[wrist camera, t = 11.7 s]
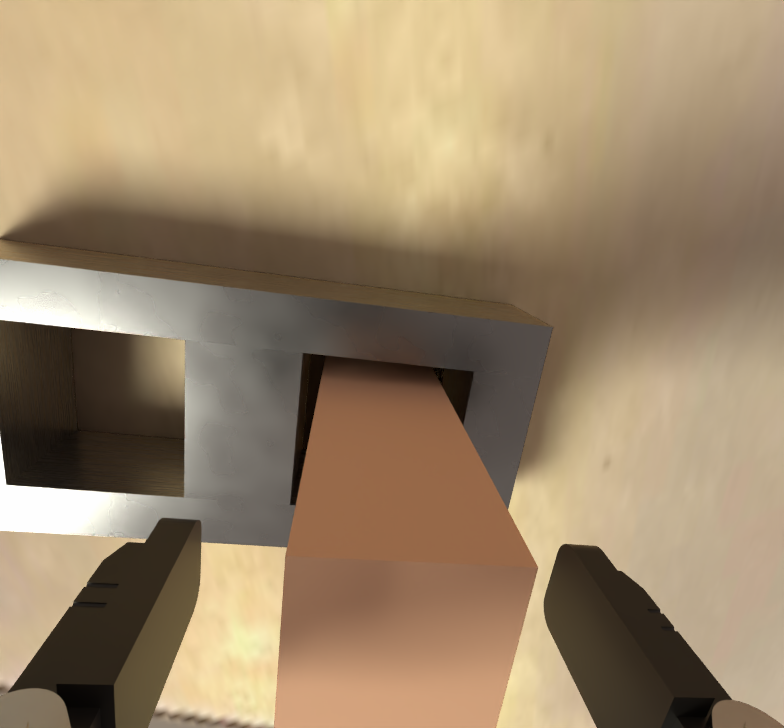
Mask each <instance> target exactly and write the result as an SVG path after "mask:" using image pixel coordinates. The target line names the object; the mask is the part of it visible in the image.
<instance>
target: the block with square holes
mask: <svg viewBox="0 0 784 728" xmlns="http://www.w3.org/2000/svg"><path fill="white" fill-rule="evenodd" d="M70 327H71V328H80V329H89V330H99V331H108V332H117V333H126V334H135V335H144V336H154V337H163V338H172V339H181V340H185V439H174V438H162V437H150V436H138V435H126V434H114V433H103V432H91V431H79V430H77V415H76V401H75V386H74V371H73V357H72V342H71V328H70ZM552 329H553V327H552V326H550V325H548V324H546V323H544V322H543V321H541V320H539V319H537V318H535V317H533V316H532V315H530V314H528V313H526V312H524V311H522V310H520V309H519V308H517V307H515V306H513V305H510V304H502V303H495V302H487V301H479V300H471V299H463V298H456V297H448V296H440V295H432V294H424V293H416V292H409V291H401V290H393V289H385V288H377V287H370V286H362V285H354V284H346V283H338V282H331V281H323V280H315V279H307V278H299V277H292V276H284V275H276V274H268V273H260V272H253V271H245V270H237V269H229V268H221V267H214V266H206V265H198V264H190V263H182V262H175V261H167V260H159V259H151V258H143V257H136V256H128V255H120V254H112V253H104V252H97V251H89V250H81V249H73V248H65V247H58V246H50V245H42V244H34V243H26V242H19V241H11V240H3V239H0V530H4V531H21V532H38V533H55V534H72V535H89V536H105V537H122V538H139V539H148V537H149V535H150V534H151V532H152V531H153V529H154V527H155V526H156V524H157V523H158V521H159V520H160V519H161V518H177V519H193V520H200V521H201V526H202V533H201V542H207V543H223V544H240V545H257V546H274V547H287V546H288V541H289V536H290V531H291V526H292V521H293V516H294V511H295V506H296V501H297V496H298V491H299V486H300V481H301V477H302V472H303V467H304V462H305V457H306V452H307V450H304V449H302V447H303V435H304V424H305V413H306V402H307V391H308V380H309V369H310V358H311V354H319V355H328V356H337V357H346V358H355V359H364V360H374V361H383V362H392V363H401V364H410V365H419V366H429V367H438V368H445V369H444V374H443V380H442V387H443V389H444V391H445V393H446V395H447V397H448V398H449V400H450V402H451V404H452V406H453V408H454V410H455V412H456V413H457V415H458V417H459V419H460V421H461V423H462V425H463V427H464V429H465V430H466V432H467V434H468V436H469V438H470V440H471V442H472V444H473V446H474V447H475V449H476V451H477V453H478V455H479V457H480V459H481V461H482V463H483V464H484V466H485V468H486V470H487V472H488V474H489V476H490V478H491V479H492V481H493V483H494V485H495V487H496V489H497V491H498V493H499V495H500V496H501V498H502V500H503V502H504V504H505V506H506V508H507V510H508V507H509V503H510V499H511V495H512V491H513V487H514V483H515V479H516V475H517V471H518V467H519V463H520V459H521V455H522V451H523V447H524V442H525V438H526V434H527V430H528V426H529V422H530V418H531V414H532V410H533V406H534V402H535V398H536V394H537V390H538V386H539V382H540V378H541V374H542V370H543V366H544V361H545V357H546V353H547V349H548V345H549V341H550V337H551V333H552Z"/></svg>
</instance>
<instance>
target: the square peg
mask: <svg viewBox="0 0 784 728" xmlns="http://www.w3.org/2000/svg"><path fill="white" fill-rule="evenodd" d="M537 570H538V566H537V564H536V562H535V561H534V559H533V557H532V555H531V553H530V551H529V549H528V547H527V545H526V544H525V542H524V540H523V538H522V536H521V534H520V532H519V530H518V529H517V527H516V525H515V523H514V521H513V519H512V517H511V515H510V513H509V512H508V510H507V508H506V506H505V504H504V502H503V500H502V498H501V496H500V495H499V493H498V491H497V489H496V487H495V485H494V483H493V481H492V479H491V478H490V476H489V474H488V472H487V470H486V468H485V466H484V464H483V463H482V461H481V459H480V457H479V455H478V453H477V451H476V449H475V447H474V446H473V444H472V442H471V440H470V438H469V436H468V434H467V432H466V430H465V429H464V427H463V425H462V423H461V421H460V419H459V417H458V415H457V413H456V412H455V410H454V408H453V406H452V404H451V402H450V400H449V398H448V397H447V395H446V393H445V391H444V389H443V387H442V385H441V383H440V381H439V380H438V378H437V376H436V374H435V372H434V370H433V368H432V367H429V366H419V365H410V364H401V363H392V362H383V361H374V360H364V359H355V358H346V357H337V356H328V355H326V357H325V362H324V367H323V372H322V377H321V382H320V387H319V392H318V397H317V402H316V407H315V412H314V417H313V422H312V427H311V432H310V437H309V442H308V447H307V452H306V457H305V462H304V467H303V472H302V477H301V481H300V486H299V491H298V496H297V501H296V506H295V511H294V516H293V521H292V526H291V531H290V536H289V541H288V546H287V551H286V556H285V571H284V586H283V601H282V616H281V631H280V646H279V660H278V675H277V690H276V705H275V720H274V728H496V726H497V722H498V718H499V714H500V710H501V707H502V703H503V699H504V695H505V691H506V688H507V684H508V680H509V676H510V672H511V669H512V665H513V661H514V657H515V654H516V650H517V646H518V642H519V638H520V635H521V631H522V627H523V623H524V619H525V616H526V612H527V608H528V604H529V600H530V597H531V593H532V589H533V585H534V581H535V578H536V574H537Z"/></svg>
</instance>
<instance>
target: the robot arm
mask: <svg viewBox="0 0 784 728" xmlns="http://www.w3.org/2000/svg"><path fill="white" fill-rule="evenodd" d="M201 533H202V526H201V521H200V520H193V519H177V518H161V519H160V520H159V521H158V523H157V524H156V526H155V527H154V529H153V531H152V532H151V534H150V535H149V537H148V539H147V540H146V542H145V543H133V542H128V543H126V544H125V545H123V546H122V547H121V548H119V549H118V550H117V551H115V552H114V553H113V554H111V555H110V556H108V557H107V558H106V559H104V560H103V561H102V563H101V564H100V566H99V567H98V568H97V570H96V571H95V573H94V574H93V575H92V577H91V578H90V579H89V581H88V582H87V586H86V587H84V588H83V589H82V591H81V592H80V593H79V595H78V596H77V598H76V599H75V600H74V603H73V606H72V607H69V609H68V610H67V611H66V613H65V614H64V616H63V617H62V618H61V620H60V621H59V623H58V624H57V625H56V627H55V628H54V630H53V631H52V632H51V634H50V635H49V637H48V638H47V639H46V641H45V642H44V644H43V645H42V646H41V648H40V649H39V650H38V652H37V653H36V655H35V656H34V657H33V659H32V660H31V662H30V663H29V664H28V666H27V667H26V669H25V670H24V671H23V673H22V674H21V676H20V677H19V678H18V680H17V681H16V682H15V684H14V685H13V686H12V688H11V689H10V690H9V691H8V693H6V694H4V695H1V696H0V728H148V726H149V723H150V721H151V718H152V716H153V713H154V711H155V708H156V706H157V703H158V701H159V698H160V695H161V693H162V690H163V688H164V685H165V683H166V680H167V678H168V675H169V673H170V670H171V668H172V665H173V662H174V660H175V657H176V655H177V652H178V650H179V647H180V645H181V642H182V640H183V637H184V635H185V632H186V630H187V627H188V624H189V622H190V619H191V617H192V614H193V612H194V608H195V605H196V601H197V597H198V592H199V586H200V569H201ZM544 615H545V620H546V623H547V626H548V629H549V631H550V633H551V635H552V637H553V639H554V641H555V643H556V645H557V647H558V649H559V651H560V653H561V655H562V657H563V659H564V661H565V663H566V665H567V667H568V670H569V672H570V674H571V676H572V678H573V680H574V682H575V684H576V686H577V688H578V690H579V692H580V694H581V696H582V698H583V700H584V702H585V704H586V706H587V708H588V710H589V712H590V714H591V717H592V719H593V721H594V723H595V725H596V727H597V728H784V726H783V725H782V724H780V723H779V722H778V721H776V720H775V719H774V718H772V717H771V716H769V715H768V714H766V713H764V712H763V711H761V710H759V709H757V708H755V707H753V706H751V705H749V704H746V703H743V702H740V701H735V700H732V699H731V698H730V696H729V695H728V694H727V693H726V691H725V690H724V689H723V688H722V686H721V685H720V684H719V683H718V681H717V680H716V679H715V677H714V676H713V675H712V674H711V672H710V671H709V670H708V669H707V667H706V666H705V665H704V664H703V662H702V661H701V660H700V659H699V657H698V656H697V655H696V654H695V652H694V651H693V650H692V649H691V647H690V646H689V645H688V644H687V642H686V641H685V640H684V639H683V637H682V636H681V635H680V634H679V632H678V631H675V630H674V626H673V625H672V624H671V622H670V621H669V620H668V619H667V617H666V616H665V615H664V614H661V613H660V609H659V607H658V606H657V605H656V604H655V602H654V601H653V600H652V599H651V597H650V596H649V595H648V594H647V592H646V591H645V590H644V589H643V588H642V587H641V586H639V585H638V584H637V583H636V582H634V581H633V580H632V579H631V578H629V577H628V576H627V575H626V574H624V573H623V572H622V571H617V569H616V568H615V567H614V565H613V564H612V563H611V561H610V560H609V559H608V558H607V556H606V555H605V554H604V552H603V551H602V550H601V549H600V548H599V547H597V546H588V545H572V544H564V545H562V546H561V547H560V549H559V551H558V553H557V557H556V560H555V564H554V567H553V570H552V574H551V577H550V580H549V584H548V587H547V590H546V594H545V598H544Z"/></svg>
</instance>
